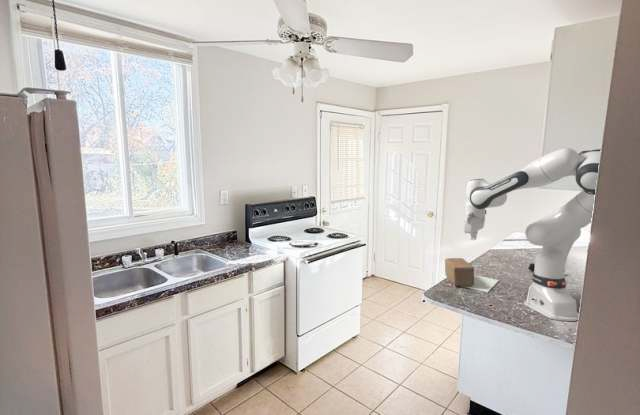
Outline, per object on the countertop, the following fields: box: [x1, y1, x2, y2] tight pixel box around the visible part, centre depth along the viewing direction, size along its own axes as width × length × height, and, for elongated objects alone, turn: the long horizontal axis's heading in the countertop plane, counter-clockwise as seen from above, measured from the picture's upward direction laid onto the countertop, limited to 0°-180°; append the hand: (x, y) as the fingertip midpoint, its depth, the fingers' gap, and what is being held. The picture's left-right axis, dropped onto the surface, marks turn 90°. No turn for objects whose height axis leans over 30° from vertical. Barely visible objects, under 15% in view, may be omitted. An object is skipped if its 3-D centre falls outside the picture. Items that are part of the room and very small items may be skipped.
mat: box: [461, 274, 500, 293], centre depth 179 cm, size 22×16×1 cm
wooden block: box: [444, 257, 475, 287], centre depth 181 cm, size 10×10×20 cm
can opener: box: [528, 262, 535, 273], centre depth 195 cm, size 18×7×6 cm, turn 61°
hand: (473, 239), depth 167 cm, fingers closed
